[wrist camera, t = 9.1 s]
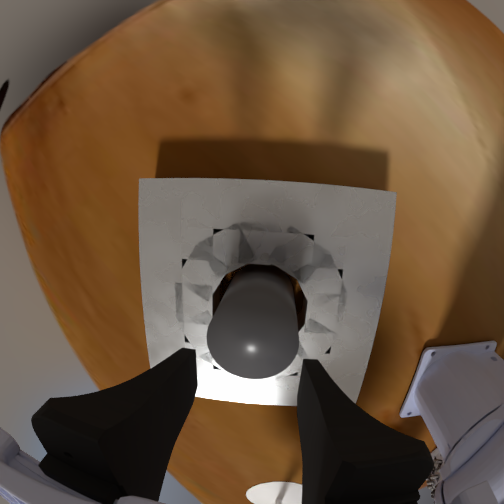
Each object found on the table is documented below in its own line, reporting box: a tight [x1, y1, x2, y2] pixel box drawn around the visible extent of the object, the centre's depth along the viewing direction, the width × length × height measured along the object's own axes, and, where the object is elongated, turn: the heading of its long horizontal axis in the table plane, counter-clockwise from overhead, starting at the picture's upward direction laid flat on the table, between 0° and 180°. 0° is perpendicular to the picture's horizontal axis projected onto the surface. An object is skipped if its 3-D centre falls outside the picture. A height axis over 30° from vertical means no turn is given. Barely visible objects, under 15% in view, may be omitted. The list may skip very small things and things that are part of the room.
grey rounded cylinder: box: [206, 264, 299, 379], centre depth 17 cm, size 5×5×7 cm
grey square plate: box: [139, 178, 397, 406], centre depth 19 cm, size 16×16×2 cm
